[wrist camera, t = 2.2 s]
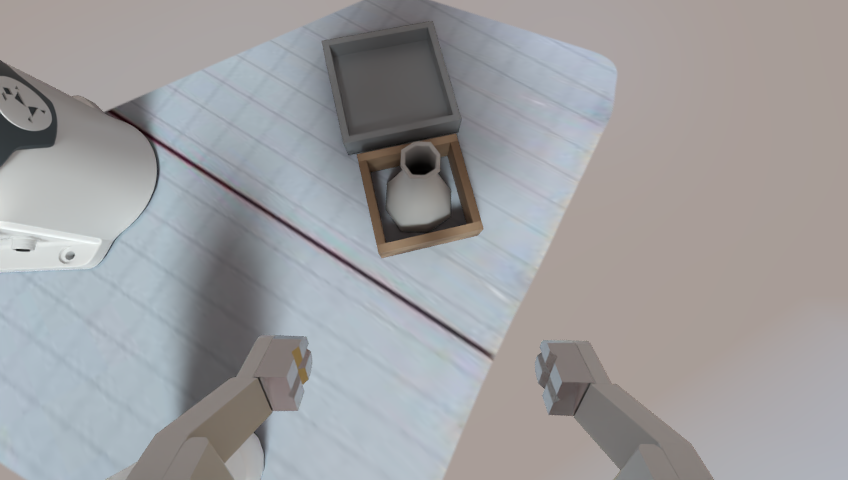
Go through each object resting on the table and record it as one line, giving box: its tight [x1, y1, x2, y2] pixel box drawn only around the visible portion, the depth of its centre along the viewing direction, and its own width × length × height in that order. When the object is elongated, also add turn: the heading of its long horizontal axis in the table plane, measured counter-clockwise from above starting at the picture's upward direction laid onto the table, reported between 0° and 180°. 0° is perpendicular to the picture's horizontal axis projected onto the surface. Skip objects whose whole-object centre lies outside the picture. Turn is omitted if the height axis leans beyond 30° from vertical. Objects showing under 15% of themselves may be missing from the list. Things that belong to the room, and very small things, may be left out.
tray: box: [322, 21, 461, 155], centre depth 36 cm, size 12×12×2 cm
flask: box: [386, 141, 451, 232], centre depth 30 cm, size 7×7×10 cm
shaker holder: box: [357, 134, 483, 258], centre depth 33 cm, size 10×10×3 cm
